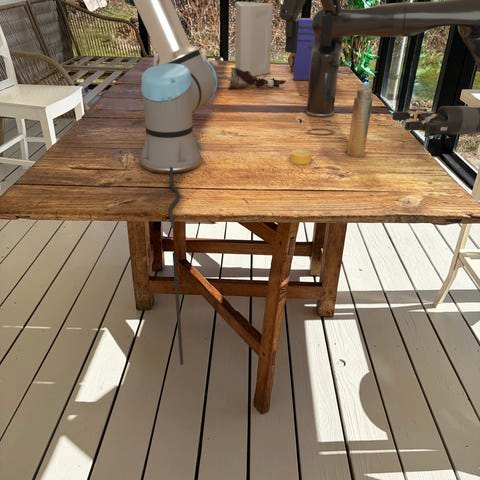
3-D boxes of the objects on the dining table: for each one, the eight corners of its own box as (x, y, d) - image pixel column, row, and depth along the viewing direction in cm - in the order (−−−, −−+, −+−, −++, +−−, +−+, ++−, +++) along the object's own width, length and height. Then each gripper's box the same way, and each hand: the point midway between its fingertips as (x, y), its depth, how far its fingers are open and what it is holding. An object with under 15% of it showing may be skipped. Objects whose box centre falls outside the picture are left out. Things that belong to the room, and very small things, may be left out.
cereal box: (333, 78, 208) (339, 18, 196) (334, 81, 204) (341, 19, 192) (293, 77, 209) (297, 17, 197) (293, 79, 205) (297, 18, 193)
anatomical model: (297, 75, 231) (295, 75, 217) (284, 62, 230) (281, 61, 216) (315, 54, 226) (315, 52, 212) (302, 41, 225) (301, 38, 211)
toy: (173, 75, 210) (172, 58, 207) (149, 64, 228) (148, 49, 224) (220, 69, 222) (220, 53, 218) (194, 59, 239) (193, 45, 236)
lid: (311, 158, 127) (312, 150, 126) (309, 165, 123) (310, 157, 122) (292, 156, 128) (292, 148, 127) (289, 163, 124) (289, 155, 123)
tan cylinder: (357, 158, 128) (367, 92, 119) (343, 153, 131) (352, 89, 122) (367, 154, 131) (377, 90, 122) (353, 149, 133) (362, 86, 125)
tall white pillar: (273, 76, 210) (276, 6, 196) (239, 77, 209) (240, 6, 194) (266, 67, 226) (268, 2, 212) (235, 67, 225) (235, 1, 210)
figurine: (210, 87, 179) (288, 95, 182) (212, 65, 176) (291, 73, 180) (208, 84, 201) (278, 91, 205) (210, 64, 198) (280, 71, 202)
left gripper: (295, -60, 91) (288, 57, 102) (364, -57, 106) (351, 45, 117) (265, -60, 95) (261, 53, 106) (335, -57, 111) (325, 41, 122)
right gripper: (447, 99, 133) (391, 99, 131) (474, 114, 121) (413, 114, 119) (440, 125, 137) (386, 126, 135) (466, 142, 125) (406, 143, 123)
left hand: (308, 49), depth 112 cm, fingers open, 13 cm apart
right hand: (399, 120), depth 127 cm, fingers open, 8 cm apart
